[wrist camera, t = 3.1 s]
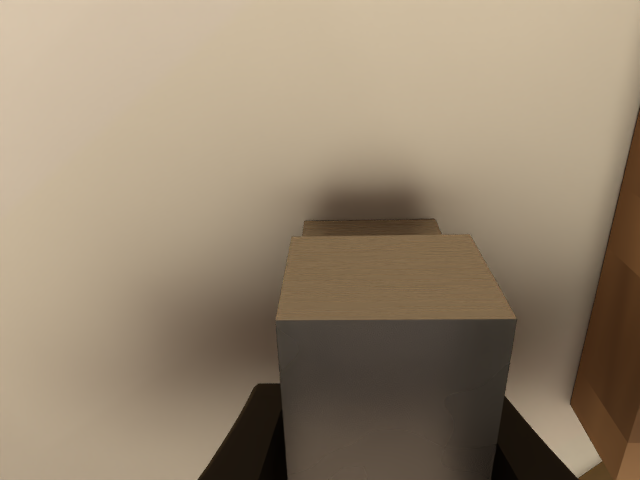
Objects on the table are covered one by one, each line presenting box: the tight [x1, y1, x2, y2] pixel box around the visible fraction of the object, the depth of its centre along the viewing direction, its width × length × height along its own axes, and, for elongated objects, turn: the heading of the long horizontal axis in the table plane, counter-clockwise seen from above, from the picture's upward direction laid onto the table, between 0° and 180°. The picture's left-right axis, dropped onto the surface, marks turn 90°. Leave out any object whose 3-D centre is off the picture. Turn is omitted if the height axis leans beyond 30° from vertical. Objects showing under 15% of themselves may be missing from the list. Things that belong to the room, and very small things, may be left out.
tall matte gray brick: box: [275, 219, 517, 480], centre depth 11 cm, size 3×9×6 cm, turn 2°
